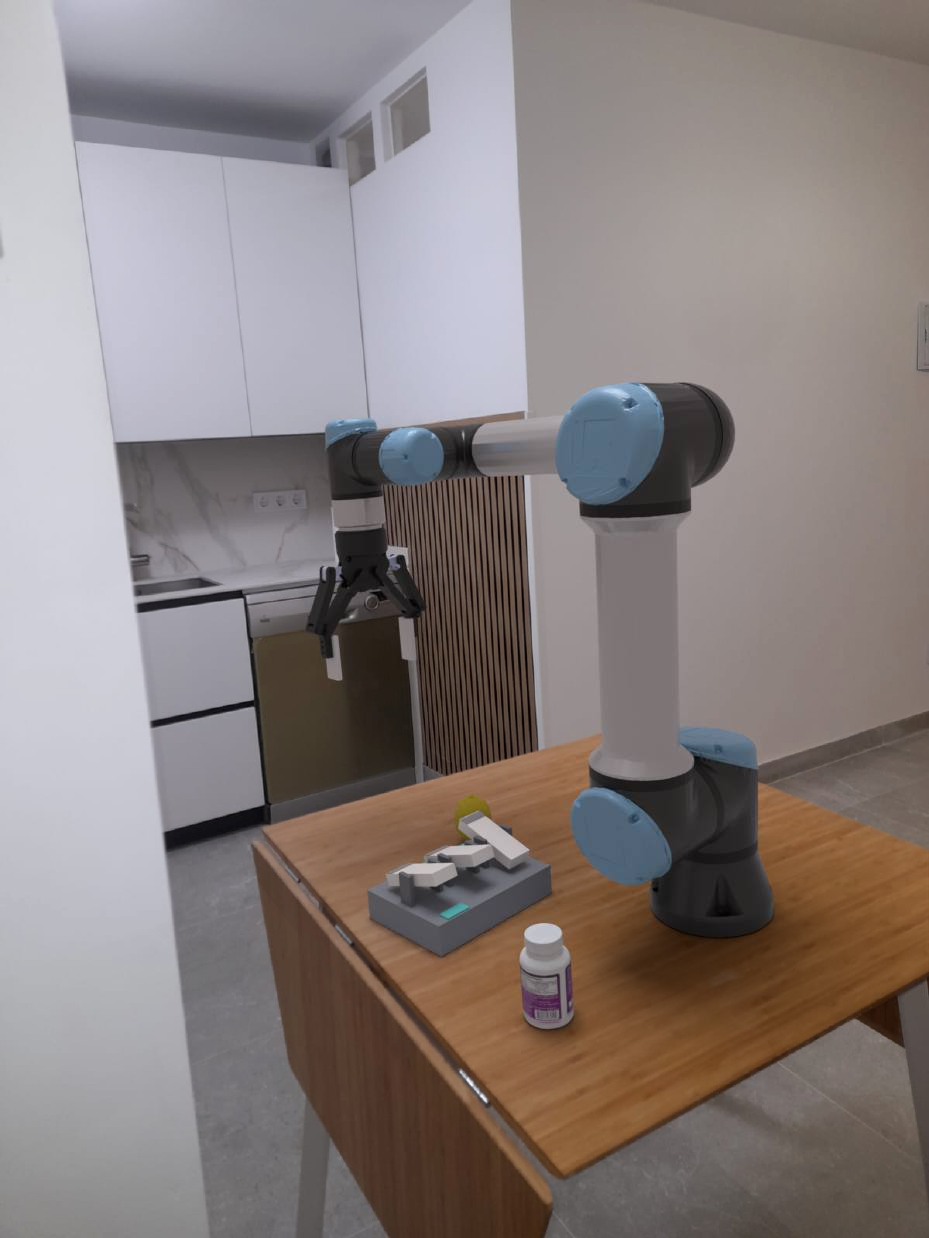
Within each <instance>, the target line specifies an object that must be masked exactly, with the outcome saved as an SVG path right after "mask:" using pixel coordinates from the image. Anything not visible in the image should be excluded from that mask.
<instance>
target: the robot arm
mask: <svg viewBox="0 0 929 1238" xmlns="http://www.w3.org/2000/svg"><path fill="white" fill-rule="evenodd" d="M324 432H325V433H324V435H325V436H324V437H325V447H324V453H325V456H326V457H325V458H326V465H327V473H328V483H329V491H330V492H329V493H330V498H331V509H332V518H333V519H332V520H333V526H334V527H335V528H338V530H336V531H335V533H334V543H335V544H334V545H335V552H336V555H337V557H338V558H337V559H338V564H337V566H328V565H321V566H320V567H319V581H318V582H319V583H318V586H317V589H316V592H315V595H314V599H313V602H312V606H311V609H310V612H309V615H308V618H307V622H306V626H305V632H306V633H307V634H312V635H316V636H318V640H319V647H320V655H321V657H322V659H323V658H324V659H325V662H326V663H325V664H326V670H327V671H326V672H327V678H328V679H330V680H335V681H337V682H338V681H342V680H343V670H342V659H341V652H340V641H339V635H337V634H334V633H335V631H336V629H337V627H338V625H339V623H340V622H341V619H342V618H343V615H344V614H345V613H346V610H347V609H348V607H349V605H350V602H352V599H353V598H354V597H356V595H357V594H358V593H366V592H368V591H370V590H372V591H376V590H380V592H381V593H383V594H384V596H385V597H386V598H387V599H388V600H389V602H391V604H393V606H394V607H395V608H396V609H397V610H398V611H399V612H400V614H402V616H400V617H398V628H399V639H400V651H401V659H403V660H406V661H410V662H411V661H412V662H414V661H417V649H416V638H417V637H418V634H419V633H418V623H417V622H418V621H417V619H418V618H420V617H421V616H422V612H425V611H427V604H426V602H425V600H424V598H423V596H422V594H421V592H420V591H419V589H418V587H417V585H416V583H415V581H414V579H413V577H412V575H411V574H410V572H409V569H408V565H407V561H406V556H405V555H404V554H395V553H393V554H392V553H391V554H390V555H389V557H388V555H387V551H388V549H389V547H388V545H389V544H388V537H387V536H388V535H387V528H385V527H384V526H383V524H385V522H386V521H387V520H386V511H385V503H384V491H383V486H403V487H411V486H420V485H424V484H425V485H426V484H428V483H433V482H440V481H442V482H443V481H449V480H459V479H460V480H461V479H471V478H472V479H474V478H490V477H509V476H510V477H511V476H512V477H513V476H515V477H516V476H540V475H543V476H544V475H558V478H559V479H560V482H563V483H564V484H565V485H566V487H565V489H566V490H567V492H568V493H569V494H570V495H571V496H573V497H574V498H576V499H578V505H579V508H578V509H579V518H580V520H581V521H582V522H583V523H585V524H586V525H587V526H588V527H589V528H590V529H591V530H592V532H593V533H594V552H595V557H594V558H595V579H596V581H595V583H596V607H597V608H596V610H597V611H596V612H597V637H598V639H597V640H598V641H597V642H598V643H597V644H598V668H599V669H598V671H599V698H600V699H599V700H600V701H599V702H600V727H601V729H600V730H601V731H600V732H601V742H600V744H599V745H598V746H597V747H596V748H595V749H594V750H593V751H592V752H591V753H589V756H588V782H589V783H588V785H589V786H588V787H589V788H586V789H584V790H582V791H581V793H580V794H579V795H578V796H577V798H576V799H574V801H573V803H572V806H571V807H570V814H569V824H570V828H571V829H570V830H571V832H572V836H573V839H574V841H575V844H576V846H577V848H578V849H579V851H580V853H581V855H582V856H583V857H585V858H586V860H587V861H588V862H589V865H591V866H592V868H594V869H595V870H596V871H597V872H598V873H599V874H601V875H602V876H603V877H605V878H607V879H609V880H610V881H613V882H615V883H617V884H620V885H623V886H641V885H643V884H646V883H648V882H650V881H651V882H650V885H649V905H650V906H649V907H650V909H651V911H652V912H653V914H654V916H655V917H656V918H657V919H658V920H659V921H660V922H662V923H663V924H664V925H667V926H669V927H670V928H673V929H675V930H677V931H680V932H683V933H686V934H690V935H694V936H701V937H709V938H731V937H738V936H744V935H747V934H750V933H754V932H756V931H759V930H760V929H762V928H764V927H765V926H766V925H768V924H769V922H771V920H772V918H773V915H774V893H773V892H774V891H773V888H772V887H771V885H770V882H769V878H768V876H767V873H766V870H765V866H764V864H763V860H762V859H761V856H760V853H759V770H760V766H759V764H758V755H757V754H758V753H757V747H756V744H755V743H754V741H752V740H751V739H750V738H749V737H747V736H746V735H744V734H742V733H739V732H736V731H733V730H727V729H722V728H715V727H706V726H680V723H681V721H680V677H679V676H680V673H679V672H680V670H679V668H680V667H679V662H680V661H679V660H680V659H679V656H680V655H679V607H678V606H679V605H678V604H679V594H678V593H679V592H678V589H679V588H678V586H679V585H678V537H677V536H678V533H677V532H678V531H677V530H678V529H679V528H680V527H679V526H681V524H682V523H683V522H684V521H685V520H686V519H687V518H688V517H689V516H691V514H692V489H693V488H696V487H698V486H701V485H703V484H705V483H707V482H708V481H710V480H712V479H713V478H715V477H716V476H717V475H718V474H719V473H720V472H721V471H722V469H723V468H725V466H726V464H727V463H728V461H729V460H730V457H731V455H732V453H733V449H734V446H735V445H734V444H735V441H736V426H735V421H734V418H733V415H732V413H731V409H730V408H729V407H728V405H727V404H726V402H725V401H724V400H723V399H722V398H721V397H720V396H719V395H718V393H716V392H715V391H713V390H712V389H710V388H707V387H705V386H703V385H701V384H698V383H693V382H686V381H685V382H684V381H683V382H682V381H681V382H625V381H623V382H622V383H621V382H620V383H617V384H609V385H602V386H599V387H596V388H593V389H591V390H588V391H587V392H585V393H584V394H583V395H581V396H580V397H579V398H578V399H577V400H575V402H574V403H573V405H572V406H571V407H570V409H569V410H568V411H567V412H566V413H565V414H560V415H550V416H542V417H541V416H540V417H532V418H531V417H530V418H521V419H512V420H503V421H494V422H487V423H486V422H483V423H475V424H474V423H471V424H463V425H462V424H461V425H451V426H431V427H428V426H427V427H415V426H411V427H405V426H404V427H400V428H394V429H386V430H380V431H379V430H378V426H377V422H376V420H375V419H374V418H370V417H368V418H367V417H365V418H348V419H339V420H338V419H337V420H335V419H334V420H331V421H329V422H327V423H326V425H325V428H324ZM389 569H390V571H391V572H392V574H393V576H394V578H395V580H396V582H397V583H398V586H399V587H400V589H398V587H396V585H395V582H394V581H393V580H392V579H391V578H390V577H389V576H388V574H387V573H388V571H389ZM339 577H340V579H341V581H340V583H339V585H338V586H337V588H336V582H337V581H339ZM335 588H336V594H335V595H334V593H335ZM400 590H401V591H402V592H401V591H400ZM333 595H334V597H333ZM332 598H333V599H332ZM331 601H332V602H331Z"/></svg>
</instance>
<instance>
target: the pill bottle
mask: <svg viewBox="0 0 929 1238" xmlns="http://www.w3.org/2000/svg"><path fill="white" fill-rule="evenodd" d="M523 933H524V934H523V936H524V937H523V939H524V940H523V941H524V947H523V948H522V950H521V952H520V954H519V973H520V986H521V987H520V989H521V1001H522V1003H521V1004H522V1009H523V1010H522V1011H523V1016H524V1018H525V1020H526V1021H527V1022H528V1023H529V1024H530V1025H531V1026H533V1027H535V1028H538V1029H544V1030H552V1029H553V1030H554V1029H558V1028H562V1027H564V1026H566V1025H567V1024H569V1022H570V1021H571V1020H572V1018H573V1017H574V1013H575V1012H574V994H573V993H574V991H573V989H574V988H573V978H572V977H573V975H572V973H573V972H572V960H571V959H572V957H571V954H570V952H569V950H568V948H567V947H566V946H565V945H564V937H563V931H562V929H561V928H560V927H559V926H558V925H555V924H552V923H545V922H542V923H541V922H540V923H536V924H532V925H530V926H529V927H527V928H526V929H525V931H524V932H523Z"/></svg>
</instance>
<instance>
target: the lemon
mask: <svg viewBox="0 0 929 1238" xmlns="http://www.w3.org/2000/svg"><path fill="white" fill-rule="evenodd" d="M455 809H456V810H455V813H454V823H455V827H456V831H457V833H458V834H459V836H460V837H461V838H462V839H463V840H465V841H466V840H472V839H470V838H469V837H468V836H467V835H465V834H464V833H463V832H462V831H460V830H459V829H458V826H459V821H460V819H461V818H464V817H466V816H468V815H470V814H472V813H475V812H477V811H480V812H482V813H483V814H484V815H485V816H486V817H487V818H489V819H490V820H491V821H493V819H492V813H491V809H490V807H489V804H488V803H487V802H486V800H484V799H483V798H482V797H481V796H478V795H475V794H473V793H469V794H468V795H467V796H464V798H462V799H461V800H460V801H459V802H458V804H457V806H456V808H455Z"/></svg>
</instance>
